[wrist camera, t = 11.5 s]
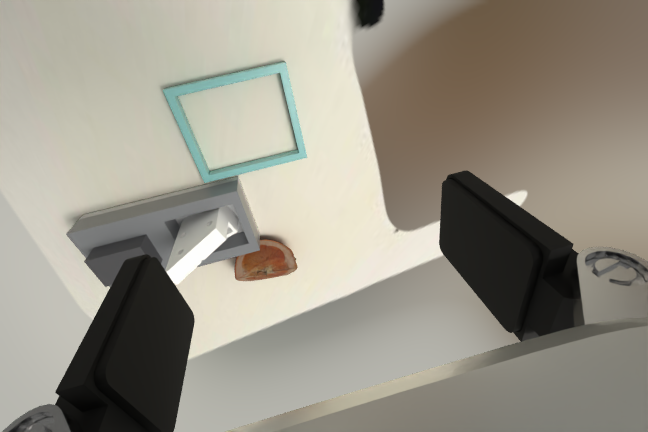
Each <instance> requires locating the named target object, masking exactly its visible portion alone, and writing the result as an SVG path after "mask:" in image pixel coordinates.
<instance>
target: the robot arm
mask: <svg viewBox="0 0 648 432" xmlns="http://www.w3.org/2000/svg"><path fill="white" fill-rule="evenodd" d="M441 200H442V201H441V219H440V240H439V245H440V249H441V251H442V253H443V254H444V256H445V257H446V258H447V259H448V260H449V262H450V263H451V264H452V265H453V266H454V268H455V269H456V270H457V271H458V273H460V275H461V276H462V277H463V279H464V280H465V281H466V282H467V284H468V285H469V286H470V287H471V288H472V289H473V291H474V292H475V293H476V294H477V296H478V297H479V298H480V299H481V300H482V302H483V303H484V304H485V305H486V307H487V308H488V309H489V310H490V311H491V313H492V314H493V315H494V316H495V318H496V319H497V320H498V321H499V322H500V324H501V325H502V326H503V327H504V328H505V329H506V330H507V331H508V332H510V333H512V332H513V333H514V334H515V335H516V336H517V337H518V339H519V340H520V341H521V342H519V343H515V344H512V345H508V346H504V347H501V348H498V349H495V350H491V351H488V352H484V353H481V354H478V355H474V356H471V357H468V358H464V359H461V360H458V361H454V362H451V363H448V364H444V365H441V366H438V367H434V368H431V369H428V370H424V371H421V372H418V373H414V374H411V375H408V376H404V377H401V378H398V379H395V380H391V381H388V382H385V383H382V384H378V385H375V386H372V387H369V388H365V389H362V390H359V391H355V392H352V393H349V394H345V395H342V396H339V397H336V398H332V399H329V400H326V401H323V402H319V403H316V404H313V405H309V406H306V407H303V408H300V409H296V410H293V411H290V412H287V413H284V414H280V415H277V416H274V417H271V418H267V419H264V420H261V421H258V422H255V423H251V424H248V425H245V426H242V427H238V428H235V429H232V430H229V431H226V432H648V262H647V261H646V260H644V259H642V258H640V257H639V256H637V255H635V254H632V253H629V252H626V251H624V250H620V249H615V248H610V247H592V248H588V249H585V250H582V251H581V252H580V253H579V254H578V253H577V252H576V251H574V250H573V249H572V247H573V243H571V242H570V241H568V240H567V239H565V238H564V237H563V236H561V235H560V234H558V233H557V232H555V231H554V230H553V229H551V228H550V227H548V226H547V225H545V224H544V223H542V222H541V221H539V220H538V219H536V218H535V217H534V216H532V215H531V214H529V213H528V212H527V211H525V210H524V209H522V208H521V207H519V206H518V205H517V204H515V203H514V202H512V201H511V200H509V199H508V198H506V197H505V196H503V195H502V194H501V193H499V192H498V191H496V190H495V189H493V188H492V187H490V186H489V185H488V184H486V183H485V182H483V181H482V180H481V179H479V178H478V177H476V176H475V175H473V174H472V173H470V172H469V171H462V172H458V173H454V174H451V175H448V177H447V179H446V180H445V181H444V182H443V183H442V199H441ZM193 327H194V315H193V312H192V310H191V309H190V307H189V306H188V304H187V303H186V301H185V300H184V298H183V297H182V295H181V294H180V292H179V291H178V289H177V288H176V286H175V284H174V283H173V281H172V280H171V278H170V277H169V275H168V274H167V272H166V271H165V269H164V268H163V266H162V265H161V263H160V262H159V260H158V259H157V258H156V257H151V256H149V255H148V254H144V255H141V256H137V257H133V258H129V259H126V260H125V261H124V263H123V264H122V266H121V268H120V270H119V272H118V274H117V276H116V278H115V280H114V282H113V283H112V285H111V287H110V289H109V291H108V293H107V295H106V297H105V299H104V301H103V302H102V304H101V306H100V308H99V310H98V312H97V314H96V316H95V318H94V320H93V322H92V324H91V325H90V327H89V329H88V331H87V333H86V335H85V337H84V339H83V341H82V342H81V344H80V346H79V348H78V350H77V352H76V354H75V356H74V358H73V360H72V361H71V363H70V365H69V367H68V369H67V371H66V373H65V375H64V377H63V379H62V380H61V382H60V384H59V386H58V388H57V390H56V393H57V394H58V395H59V398H58V400H57V402H56V404H55V405H52V404H47V405H43V406H39V407H37V408H34V409H32V410H30V411H28V412H27V413H25V414H24V415H22V416H21V417H19V418H18V419H16V420H15V421H14V422H12V423H11V424H10V425H9V426H8V427H7V428H6V429H4V430H3V432H173V431H174V428H175V423H176V418H177V413H178V407H179V402H180V396H181V391H182V386H183V380H184V375H185V370H186V365H187V359H188V354H189V349H190V343H191V338H192V333H193Z"/></svg>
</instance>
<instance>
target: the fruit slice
mask: <svg viewBox="0 0 648 432" xmlns="http://www.w3.org/2000/svg"><path fill="white" fill-rule="evenodd" d="M295 260H296V258H295V257H294V254H293V252H292V250H291V249H289V248H288V247H287V246H285V245H283V244H282V243H280V242H277V241H273V240H267V239H264V240H260V250H259V251H255V252H252V253H248V254H244V255H240V256H237V258H236V262H235V278H236V279H237V280H239V281H254V280H262V279H267V278H273V277H278V276H284V275H288V274H290V273H292V272H294V271H295V270H296V269H297V264H296V261H295Z"/></svg>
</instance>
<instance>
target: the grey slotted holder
mask: <svg viewBox="0 0 648 432" xmlns="http://www.w3.org/2000/svg"><path fill="white" fill-rule="evenodd" d="M224 206H228V207H229V208H230V209H231V210H232V211H233V212H234V214H235V215H236V216H237V217H238V218H239V219H238V232H237V233H235V234H233V235H231V236H230V237H228V238H227V239H226V240H225V241H224V242H223V243H222V244H221V245H220V246H219V247H218V248H217V249H216V250H215V251H213V252H212V253H211V254H210V255H209V256H208V257H207V258H206V259H205V260H202V262H201V263H200V264H199V265H198V266H197V267H199V266H203V265H207V264H211V263H214V262H218V261H222V260H226V259H229V258H233V257H237V256H240V255H244V254H248V253H252V252H255V251H259V250H260V234H259V230H258V227H257V225H256V222H255V219H254V217H253V214H252V211H251V209H250V206H249V203H248V201H247V198H246V195H245V193H244V190H243V187H242V185H241V182H240V180H239V177H238V176H237V177H233V178H229V179H225V180H221V181H217V182H213V183H209V184H205V185H201V186H197V187H193V188H189V189H185V190H181V191H177V192H173V193H169V194H165V195H161V196H157V197H153V198H149V199H145V200H141V201H137V202H133V203H129V204H125V205H121V206H117V207H113V208H109V209H105V210H101V211H97V212H93V213H89V214H85V215H82V216H81V218H80V219H79V220H78V221H77V222H76V223H75V224H74V226H73V227H72V228H71V229H70V230H69V231H68V233H67V234H66V235H67V236H68V237H69V238H70V240H71V241H72V242H73V243H74V244H75V246H76V247H77V248H78V249H79V250H80V252H81V253H82V254H83V255H84V256H85V258H86V260H85V261H84V262H85V263H86V264H87V265H88V267H89V268H90V269H91V270H92V271H93V273H94V274H95V275H96V276H97V277H98V278H99V280H100V281H101V282H102V283H103V284H104V286H105V287H106V286H110V287H111V285H112V283H113V282H114V280H115V278H116V276H117V274H118V272H119V270H120V268H121V266H122V264H123V263H124V261H125V260H126V259H129V258H133V257H137V256H141V255H144V254H148V255H149V256H151V257H156V258H157V259H158V260H159V262H160V263H161V265H162V266H163V268H164V269H166V267H167V264H168V261H169V258H170V255H171V252H172V249H173V246H174V243H175V240H176V237H177V235H178V232H179V229H180V226H181V223H182V220H183V219H185V218H186V217H188V216H190V215H193V214H196V213H200V212H204V211H208V210H212V209H216V208H220V207H224Z"/></svg>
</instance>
